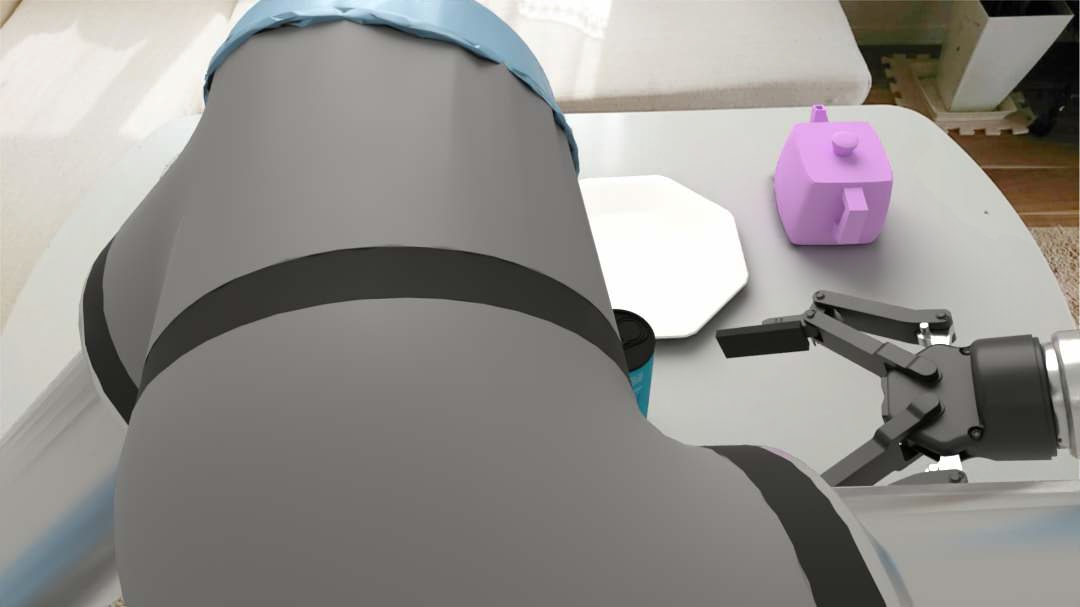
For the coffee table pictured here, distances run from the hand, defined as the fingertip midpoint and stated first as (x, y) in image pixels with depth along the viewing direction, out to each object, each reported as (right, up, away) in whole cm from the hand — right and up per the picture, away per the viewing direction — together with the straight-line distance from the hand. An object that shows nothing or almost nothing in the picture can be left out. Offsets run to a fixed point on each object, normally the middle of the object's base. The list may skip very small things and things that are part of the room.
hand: (709, 414), depth 56 cm
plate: (-3, +13, +26) cm, 29 cm away
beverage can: (-6, -4, +12) cm, 14 cm away
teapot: (+19, +19, +29) cm, 40 cm away
